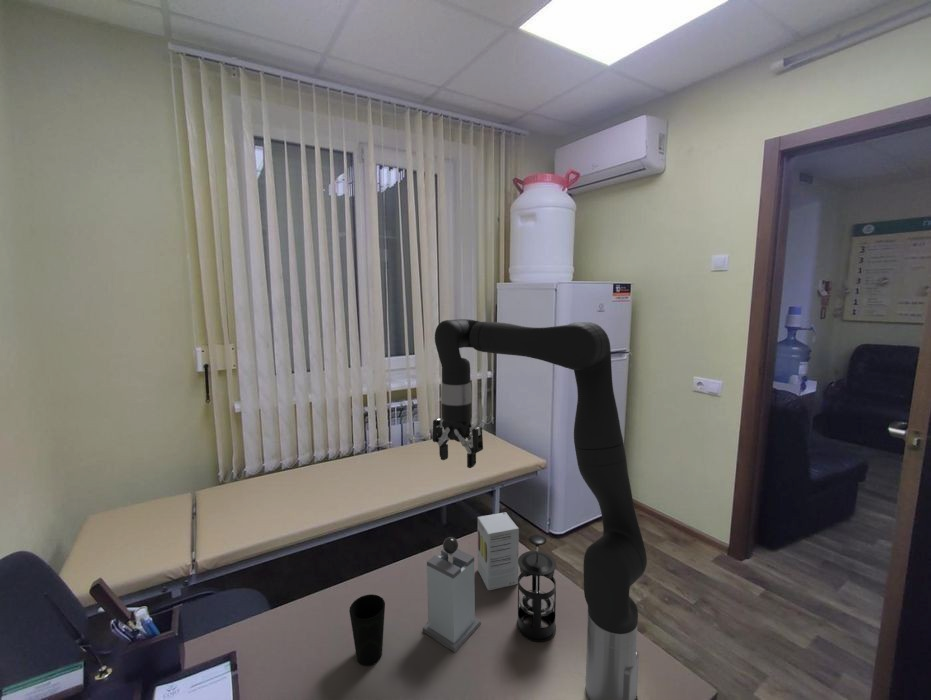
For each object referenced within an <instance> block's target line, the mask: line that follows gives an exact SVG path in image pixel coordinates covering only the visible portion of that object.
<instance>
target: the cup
mask: <svg viewBox="0 0 931 700" xmlns="http://www.w3.org/2000/svg"><path fill="white" fill-rule="evenodd" d="M385 610H386V602H385V599H384V598H383V597H381V596H380V595H377V594H373V593H372V594H365V595H362V596H359V597H357V598H356V599H355V600H353V602H352V603H351V605H350V607H349V616H350V623H351V631H352V636H353V637H352V638H353V643H354V648H355V655H356V656H355V657H356V661H357V663H358V665H360V666H362V667H370V666H373V665H376V664H377V663H379V662H380V660H381V658H382V656H383V646H384V644H383V643H384V642H383V641H384V630H385V626H384V625H385Z"/></svg>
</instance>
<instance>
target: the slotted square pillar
mask: <svg viewBox="0 0 931 700" xmlns="http://www.w3.org/2000/svg"><path fill="white" fill-rule="evenodd" d="M426 580H427V582H426V584H427V623H426V624H425V625H423V626H422V632H423V633H425V634H427V636H430V638H432V639H433V640H435V641H437V642H438V643H440V644H441V645H442V646H444V647H446V648H447V649H450V651H453V652H454V653H457V651H458V650H459V649H460V648H461V647H462V645H464V643H466V641H467V640H468V639H469V638H470V637H471V636H472V634H473V633H474V632H475V631H476V630H477V629H478V628H480V627H479V626H481V623H482V622H481V619H478V618H476V612H475V611H476V609H475V608H476V607H475V606H476V605H475V604H476V602H475V601H476V600H475V599H476V597H475V594H476V593H475V592H476V591H475V585H476V584H475V556H474V555H471V554H469V553H467V552H465V551H462V550H460V549H457V550H456V552H454V553H453V564H451V563H449V562H448V553H446V552H445V551H444V549H443V548H442V549H441V550H440V555H438V556H437V555H433V556H432V557H431V558H429V559H427V560H426Z"/></svg>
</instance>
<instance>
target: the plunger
mask: <svg viewBox="0 0 931 700" xmlns="http://www.w3.org/2000/svg"><path fill="white" fill-rule="evenodd" d="M458 548H459V542H458V540H457V539H456V537H453V536H449V537H448V536H447V537H446V538H445V539H444V541H443V543H442V549H444V551H445V552H446V553H448V562H449V563H451V564H453V553H454V552H456V550H457V549H458Z"/></svg>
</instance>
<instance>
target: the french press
mask: <svg viewBox="0 0 931 700" xmlns="http://www.w3.org/2000/svg"><path fill="white" fill-rule="evenodd" d="M528 541H529V543H530V544H532V545H535V547H536V550H529V551H526V552H523V553H522V554H520V555H519V556H518V568H519V570H520V574H518V584H517V619H516V628H517V630H518V632H519V634H520V636H522V637H524V638H525V639H526V640H528V641H530V642H535V643H545V642H547V641H548V642H549V641H550V640H551V639H553V638H554V636H555V635H556V632H557V625H556V599H557V595H556V593H557V588H556V587H557V581H556V579H555V577H554V576H555V570H556V569H557V561H556V559H555V558H554V557H553V556H552V555H550V554H549V553H546V552H544V551H540V550H539V547H540V546H542V545H545V544H546V543H547V538H546V537H545V536H544V535H542V534H530V535H529V537H528ZM531 576H532V577H531ZM524 577H525V578H526V577H531V585H532V586H531V590H526V589H525V588H524V587H523V586H522V585H521V583H520V581H521V580H522V579H523V578H524ZM541 577H545V578H547V579H549V580H550V581H551V582H552V584H553V585H554V586H553V588H552V589H551V590H550V591H548V592H544V591H542V590H540V587H541V586H540V585H541V583H540V581H541ZM520 592H521V593H522V594H521V595H520ZM552 597H553V598H552ZM528 616H530V617H533V618H532V619H533V621H532V623H533V625H532V626H530V625H528V624H527V623H525V622H524V620H525V619H526V617H528ZM542 618H544V619H546V621H548V622H549V625H548V626H544V627H542Z"/></svg>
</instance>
